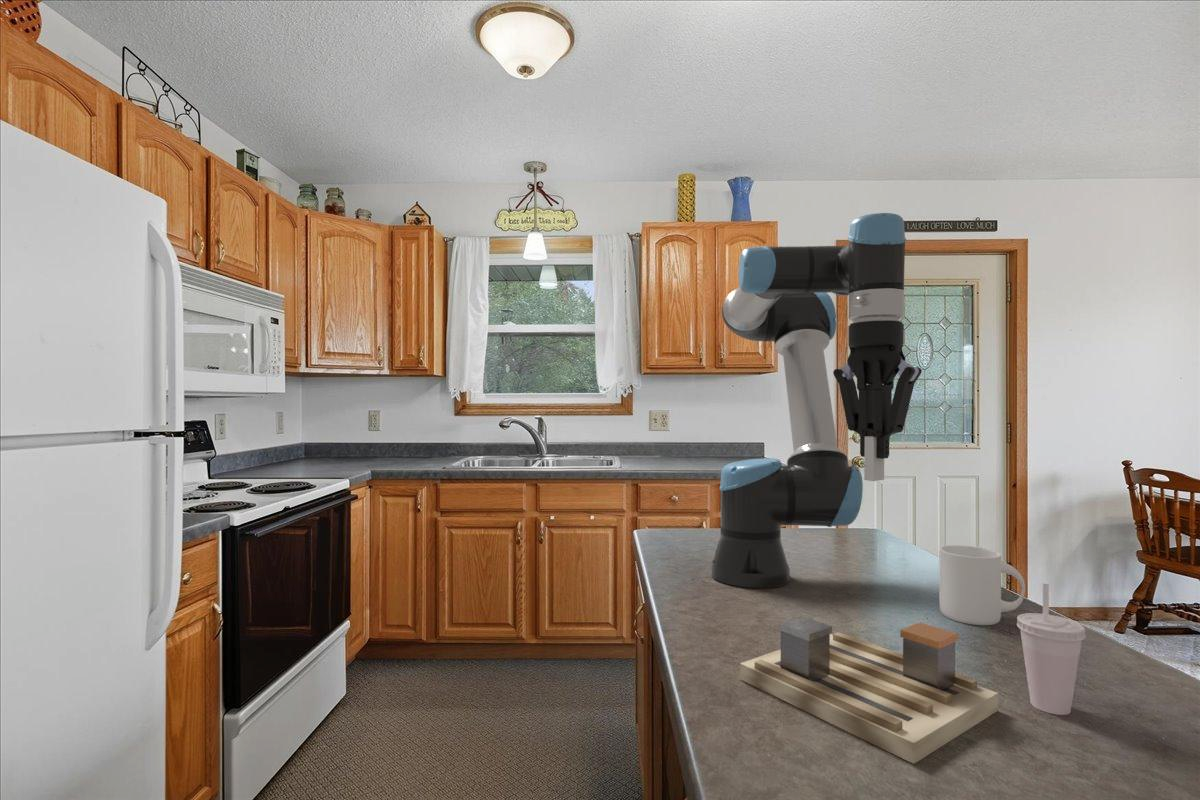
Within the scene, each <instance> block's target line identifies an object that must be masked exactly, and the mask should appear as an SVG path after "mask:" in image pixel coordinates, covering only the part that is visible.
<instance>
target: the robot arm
mask: <svg viewBox="0 0 1200 800" xmlns="http://www.w3.org/2000/svg"><path fill="white" fill-rule="evenodd" d="M905 230H906V229H905V221H904V219H903V217H902V216H901V215H899V214H896V213H892V212H878V213H870V214H864V215H861V216H858V217H856V218H855V219H853V220H852V221H851V223H850V224H849V231H848V237H847V240H848V244H847V245H817V246H809V245H808V246H807V245H806V246H768V245H767V246H766V245H761V246H755V247H747V248H744V249H743V250H742V252H741V253H740V257H739V261H738V275H737V276H738V285H739V286H738V288H735V289H733V290H732V291H731V292H730V293H728V294H727V296H726V298H725V299H724V301H723V303H722V308H721V317H722V320H723V322H724V325H725V326H726V327H727V328H728V329H729V331H731V332H732V333H733V334H735V335H737V336H738V337H741V338H743V339H745V340H749V341H754V342H774V348H775V351H776V352H777V353H778V354H779V355H781V356H782V357H783V365H784V366H783V367H784V375H785V385H786V395H787V403H788V404H787V405H788V413H789V421H790V431H791V440H792V448H793V453H792V454H791V455H790V456H789V457H788V458H787V459H786V465H783V463H782V462H781V460H780V459H779V458H777V457H776V458H773V457H769V458H751V459H744V460H739V461H734V462H730V463H728V464H726V465H724V466H723V468H722V470H721V473H720V484H719V491H720V525H719V526H720V532H719V534H720V536H719V540H718V544H717V546H716V549H715V555H714V559H712V561H711V577H712V578H713V579H715V580H716V581H717V582H720V583H723V584H727V585H731V586H735V587H736V586H737V587H742V588H753V589H756V588H757V589H760V588H761V589H766V588H767V589H768V588H776V587H782V586H784V585H786V584H788V583H789V582H790V580H791V576H790V575H791V574H790V573H791V570H790V569H791V568H790V566H789V564H788V562H787V558H786V554H785V551H784V547H783V544H782V540H781V539H782V538H781V529H782V528H781V527H782V526H806V527H807V526H810V527H812V526H813V527H828V528H832V527H840V526H842V527H843V526H844V527H845V526H850V525H851V524H853V522H855V520H856V519H857V517H858V515H859V513H860V510H861V506H862V500H863V492H864V491H863V489H864V486H863V480H864V481H869V482H877V481H879V482H880V481H884V480H885V459H888V458H889V457H890V438H891V436H892V435H895V434H898V433H902V432H903V431H904V427H905V423H906V421H907V415H908V411H909V407H910V404H911V399H912V395H913V391H914V387H915V384H916V382H917V381H918V379H919V377H920V376H921V375H922V372H923V371H922V368H921V367H918V366H913V365H911V364H910V363H909V362H907V361H906V357H905V355H904V352H903V346H904V344H905V343H904V341H905V340H904V338H905V337H904V336H905V335H904V334H905V324H904V323H903V321H901V320H900V319H903V318H904V317H905V257H906V256H905V255H906V252H905V250H906V242H907V238H906V234H905V232H906V231H905ZM828 293H832V294H834V295H836V296H837V295H838V296H841V297H842V296H848V319H849V320H850V321H852V323H850V324H849V325H848V333H847V334H848V336H847V337H848V339H847V343H848V344H847V345H848V348H849V352H850V353H849V355H848V357H847V363H846V364H845V365H843V366H842V367H841V368H835V369H834V370H833V373H832V374H833V376H834V378H835V380H836V381H837V383H838V387H839V390H840V397H841V401H842V405H843V410H844V416H845V420H846V425H847V428H848V430H849V431H850V432H855V433H856V434H858V435H859V441H860V442H859V449H860V450H859V455H860V457H861V458H862V457H863V458H864V463H863V464H864V466H863V467H864V469H863V471H864V472H863V473H864V475H863V476H864V477H863V476H862V473H861V470H860V469H859V467H858V466H854V465H849V460H848V455H847V454H846V453H845V452H844V451H842V450H840V449H839V447H838V441H837V433H836V429H835V428H836V427H835V420H834V412H833V406H832V400H831V399H832V398H831V394H830V393H831V392H830V385H829V384H830V383H829V379H828V372H827V363H826V358H825V357H826V356H825V350H826V349H827V348H828V346H829V345H830V343H831V342H830V341H831V340H832V339H834V337H835V335H836V331H837V321H836V318H837V311H836V308H835V307H836V306H835V305H834V301H833V298H832V297H831V295H829V294H828ZM896 376H898V379H897V381H896V384H895V385H896V386H895V385H894V382H895V381H894V379H895V378H896ZM854 378H856V382H855V379H854ZM894 386H895V387H894ZM894 388H895V390H894ZM893 390H894V394H893V393H892V392H893ZM892 394H893V395H892ZM892 396H893V398H892Z"/></svg>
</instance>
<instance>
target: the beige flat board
mask: <svg viewBox="0 0 1200 800" xmlns="http://www.w3.org/2000/svg"><path fill="white" fill-rule="evenodd" d="M739 680H741V681H742V682H744V683H747V684H749V685H751V686H753V687H755V688H757V689H758V690H762V691H763V692H765V693H767V694H769V695H771V696H774V697H775V698H777V699H779V700H781V701H784V702H786V703H788V704H790V705H792V706H794V707H796V708H798V709H800V710H802V711H804V712H806V713H808V714H809V715H810V714H811V715H812V716H815V717H817V718H818V719H821V720H823V721H825V722H827V723H829V724H830V725H832V726H835V727H837V728H839V729H841V730H844V731H845V732H848V733H849V734H851V735H854V736H856V737H857V738H859V739H862V740H864V741H866V742H868V743H869V744H872V745H874V746H877V747H879V748H880V749H883V750H884V751H886V752H888V753H891V754H893V755H894V756H897V757H899V758H901V759H903V760H905V761H907V762H909V763H911V764H912V765H913V764H917V762H919V761H922V759H924V758H926V757H927V756H928V755H930V754H932V753H933V752H935V751H937V750H939V749H940V748H942V747H943V746H944V745H946V744H948V743H949V742H951V741H952V740H954V739H955V738H957V737H959V736H960V735H963V734H964V733H965V732H967V731H968V730H970V729H972V728H973V727H974V726H976V725H978V724H979V723H981V722H982V721H984V720H985V719H987V718H989V717H991V716H992V715H993V714H995V713H997V712H999V692H996V691H993V690H991V689H988V688H985V687H983V686H980V685H978V680H977V679H975V678H972V677H969V676H966V675H963V674H960V673H958V672H955V684H954V685H952V686H950V687H948V688H946V689H944V690H939V689H936V688H934V687H931V686H928V685H926V684H923V683H920V682H918V681H915V680H912V679H910V678H907V677H904V676H903V653H900V652H896V651H894V650H892V649H891V650H890V649H887V648H886V647H882V646H879V645H876V644H874V643H870V642H868V641H865V640H862V639H858V638H856V637H854V636H850V635H848V634H844V633H841V632H835V633H831V634H830V675H828V676H826V677H823V678H821V679H818V680H816V681H814V682H812V681H810V680H807V679H805V678H803V677H800V676H798V675H796V674H793V673H791V672H789V671H787V670H784V669H782V668H781V648H780V649H777V650H774V651H772V652H768V653H766V654H763V655H760V656H757V657H754V658H751V659H748V660H746V661H743V662H740V663H739Z"/></svg>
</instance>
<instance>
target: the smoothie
mask: <svg viewBox="0 0 1200 800" xmlns="http://www.w3.org/2000/svg"><path fill="white" fill-rule="evenodd" d="M1049 586H1050V585H1049V584H1047V583H1042V613H1036V612H1029V613H1021V614H1018V615H1017V617H1016V619H1017V620H1016V621H1017V622H1016V626H1017V628H1018V629H1020V637H1021V644H1022V651H1023V658H1024V659H1023V660H1024V664H1025V672H1026V680H1027V686H1028V695H1029V699H1030V700H1029V701H1030V704H1031V706H1033V707H1034V708H1035V709H1037V710H1039V711H1041V712H1044V713H1047V714H1052V715H1057V716H1067V715H1069V714H1071V709H1072V705H1073V698H1074V692H1075V686H1076V681H1077V680H1076V679H1077V672H1078V668H1079V666H1078V665H1079V660H1080V655H1081V647H1082V641H1083V640H1085V639H1086V638H1087V636H1086V628H1085V626H1083V625H1082V624H1081V623H1079V622H1077V621H1075V620H1072V619H1069V618H1065V617H1062V616H1058V615H1053V614H1050V609H1049V606H1050V603H1049V602H1050V593H1049V591H1050V589H1049V588H1050V587H1049Z"/></svg>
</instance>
